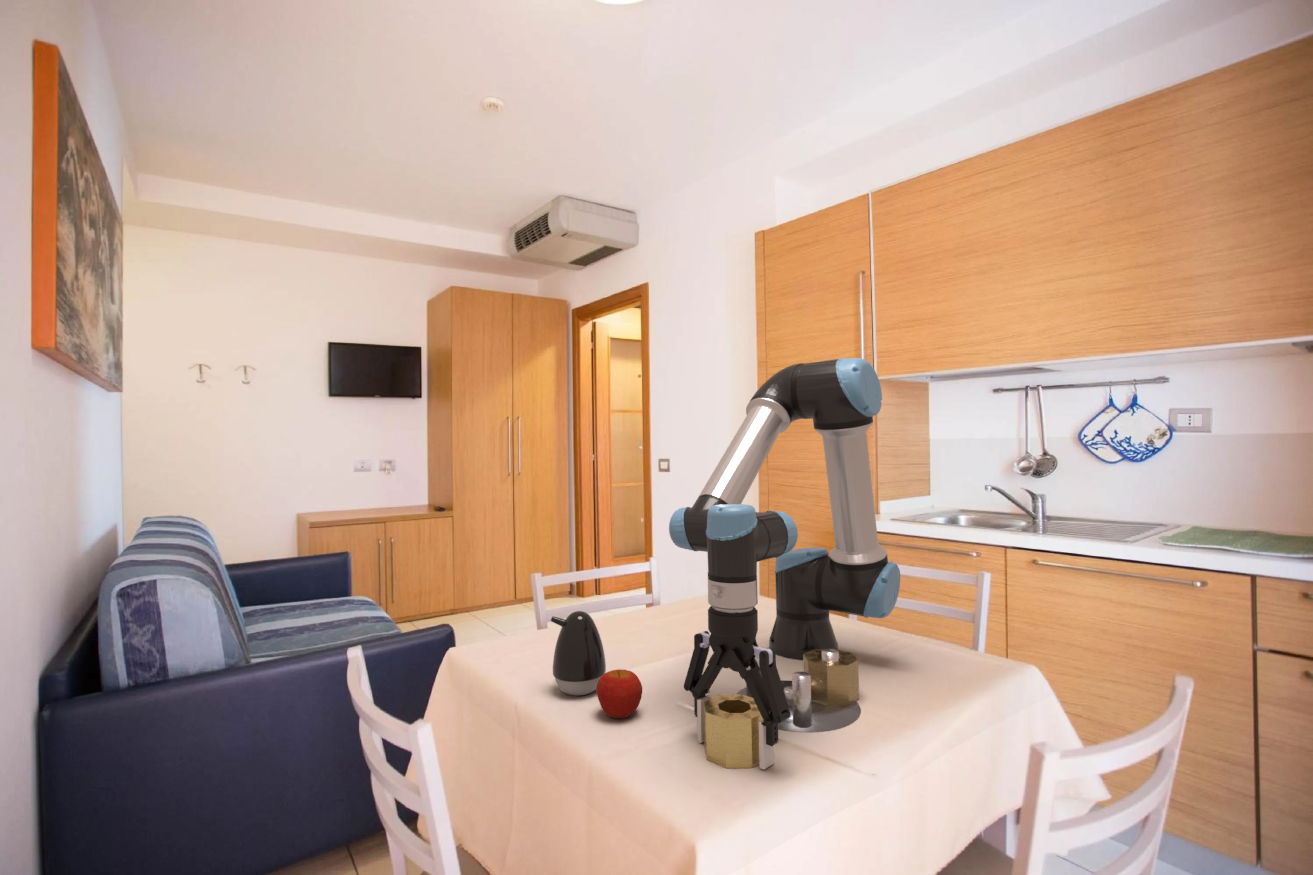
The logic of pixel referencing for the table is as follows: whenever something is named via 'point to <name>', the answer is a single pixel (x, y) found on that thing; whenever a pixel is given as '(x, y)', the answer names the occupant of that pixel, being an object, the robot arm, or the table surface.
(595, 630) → the pump dispenser
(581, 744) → the table surface
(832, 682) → the seated gear
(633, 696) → the apple
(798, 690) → the carrier
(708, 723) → the gear
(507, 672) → the table surface
